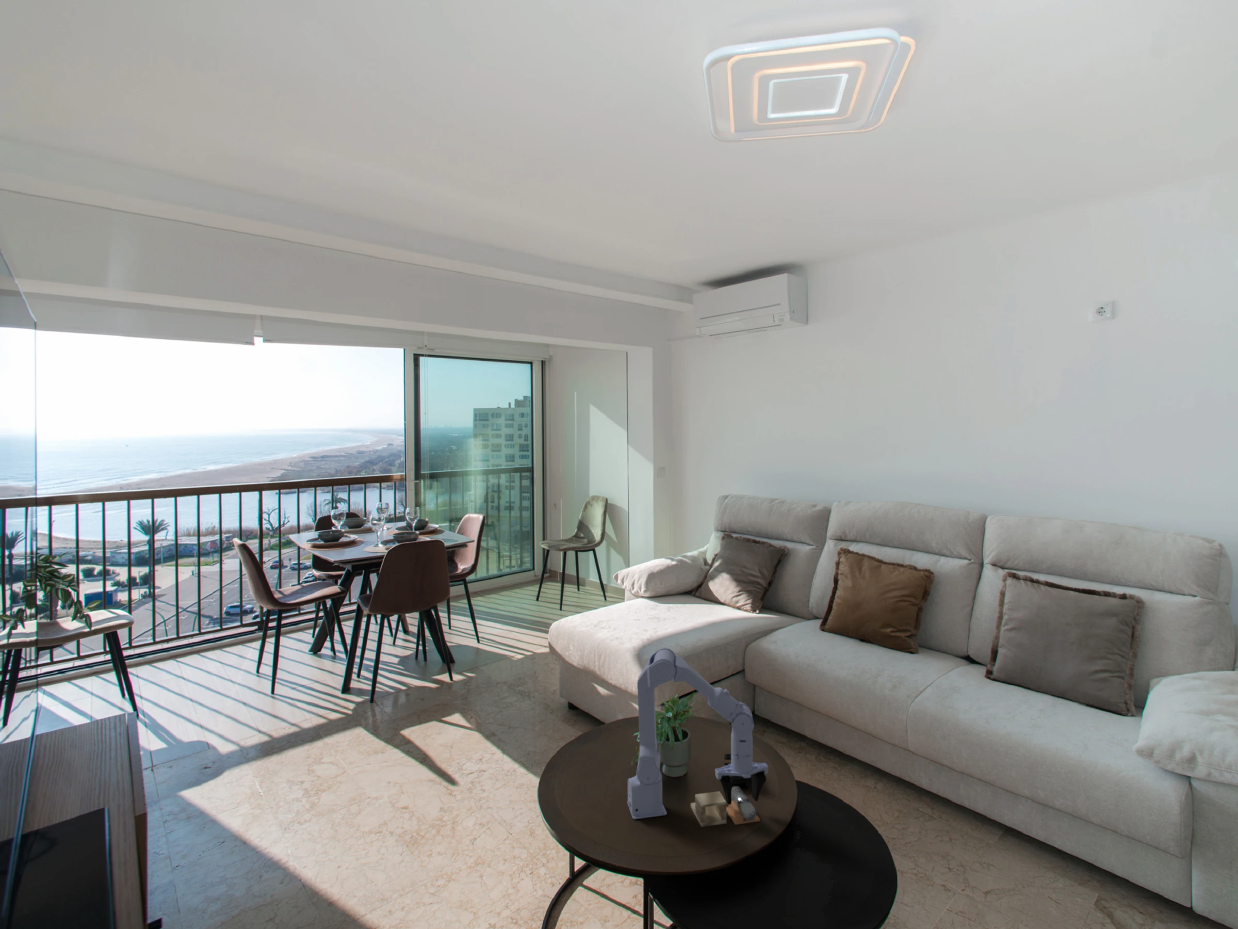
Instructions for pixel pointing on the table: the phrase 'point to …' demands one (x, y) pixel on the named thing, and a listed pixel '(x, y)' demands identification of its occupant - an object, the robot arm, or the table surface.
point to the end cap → (738, 777)
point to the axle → (743, 803)
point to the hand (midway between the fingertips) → (741, 800)
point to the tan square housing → (709, 808)
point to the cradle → (738, 814)
